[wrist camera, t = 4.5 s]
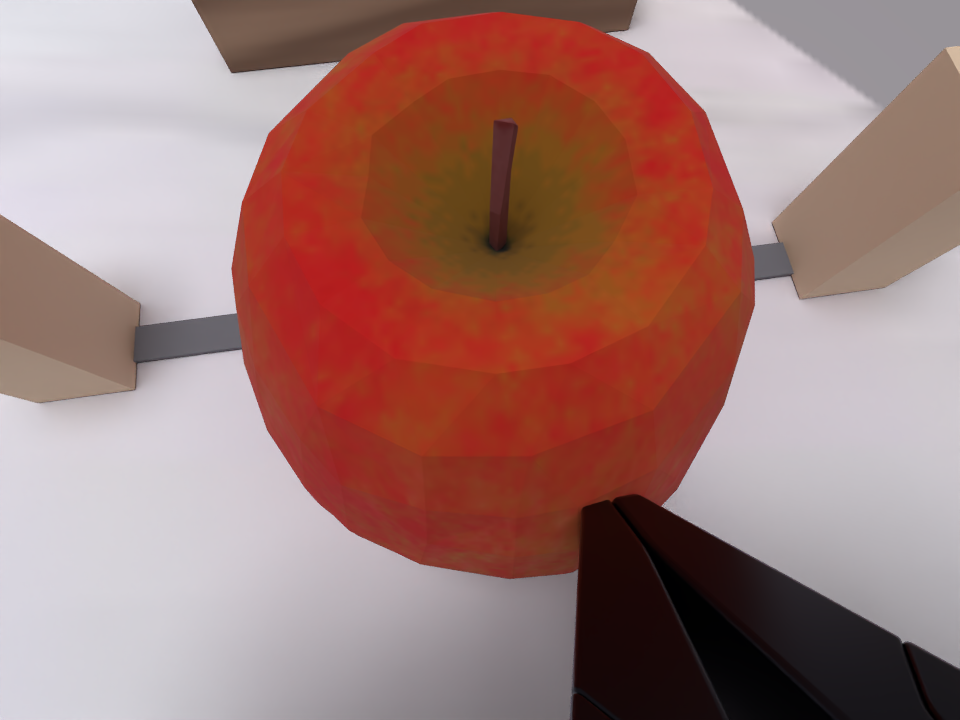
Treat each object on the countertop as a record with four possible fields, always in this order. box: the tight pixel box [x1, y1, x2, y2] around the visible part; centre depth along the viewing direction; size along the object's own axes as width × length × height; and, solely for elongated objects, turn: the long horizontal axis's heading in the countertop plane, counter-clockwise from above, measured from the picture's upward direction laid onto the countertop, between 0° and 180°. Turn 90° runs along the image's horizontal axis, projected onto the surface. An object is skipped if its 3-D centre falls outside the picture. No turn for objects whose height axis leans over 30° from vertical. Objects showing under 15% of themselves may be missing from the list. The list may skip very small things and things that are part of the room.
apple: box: [232, 12, 755, 579], centre depth 11 cm, size 11×11×11 cm
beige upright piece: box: [0, 46, 960, 403], centre depth 14 cm, size 3×28×7 cm, turn 98°
